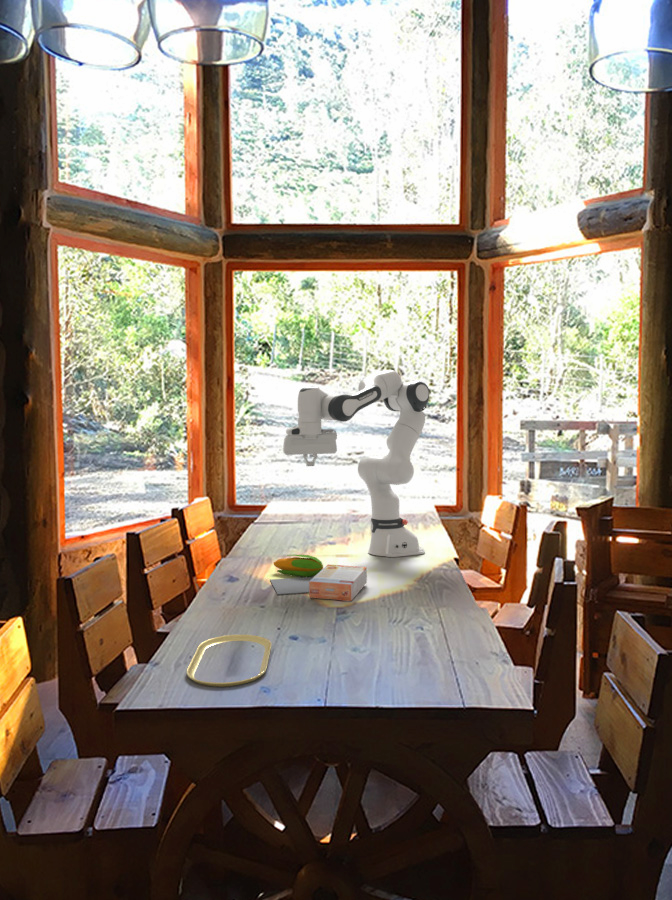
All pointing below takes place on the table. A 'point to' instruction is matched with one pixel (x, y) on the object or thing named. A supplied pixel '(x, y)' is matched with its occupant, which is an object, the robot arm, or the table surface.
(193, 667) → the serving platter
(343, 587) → the cracker box
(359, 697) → the table surface
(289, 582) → the mat
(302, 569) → the corn
